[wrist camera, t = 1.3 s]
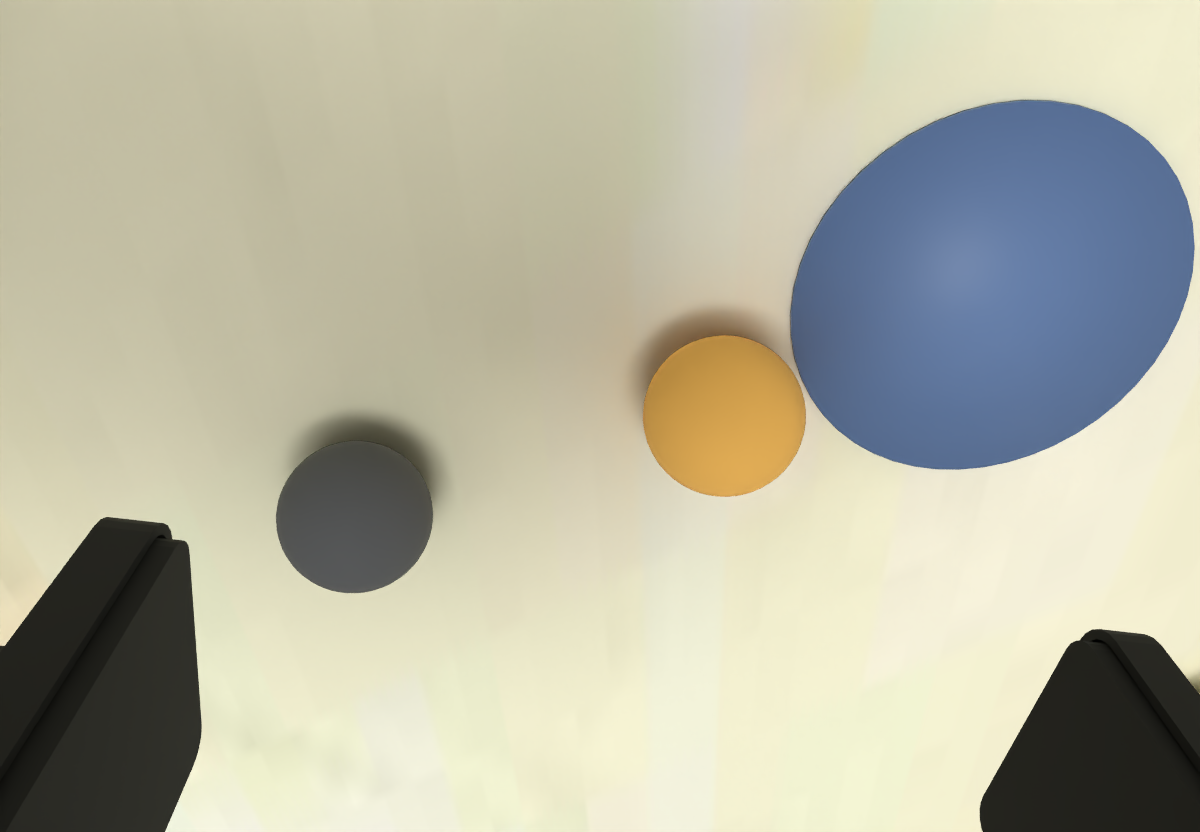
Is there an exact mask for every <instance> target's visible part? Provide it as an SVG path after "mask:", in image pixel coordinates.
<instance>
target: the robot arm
mask: <svg viewBox="0 0 1200 832" xmlns="http://www.w3.org/2000/svg"><path fill="white" fill-rule="evenodd" d="M201 725H202V724H201V710H200V696H199V682H198V668H197V653H196V639H195V625H194V611H193V597H192V582H191V568H190V554H189V547H188V544H187V543H186V542H185V541H182V540H173V539H172V535H171V531H170V529H169V527H168V525H166V524H164V523H155V522H146V521H137V520H129V519H120V518H111V517H106V518H103V519H101V520H100V521H99V522H98V523H97V524H96V525H95V526H94V527H93V528H92V530H91V531H90V532H89V534H88V535H87V536H86V538H85V539H84V540H83V542H82V543H81V544H80V546H79V547H78V549H77V550H76V551H75V553H74V554H73V555H72V557H71V558H70V559H69V561H68V562H67V563H66V565H65V566H64V567H63V569H62V570H61V571H60V573H59V574H58V575H57V577H56V578H55V579H54V581H53V582H52V583H51V585H50V586H49V587H48V589H47V590H46V591H45V593H44V594H43V595H42V597H41V598H40V599H39V601H38V602H37V603H36V605H35V606H34V608H33V609H32V610H31V612H30V613H29V614H28V616H27V617H26V618H25V620H24V621H23V622H22V624H21V625H20V626H19V628H18V629H17V630H16V632H15V633H14V634H13V636H12V637H11V638H10V640H9V641H8V642H7V644H6V645H5V646H0V832H165V830H166V828H167V826H168V823H169V821H170V819H171V816H172V814H173V812H174V809H175V807H176V805H177V802H178V800H179V798H180V795H181V793H182V791H183V788H184V786H185V784H186V781H187V779H188V777H189V774H190V772H191V770H192V767H193V765H194V762H195V760H196V757H197V753H198V749H199V745H200V739H201ZM980 822H981V828H982V831H983V832H1200V695H1199V693H1198V692H1197V691H1196V690H1195V688H1194V687H1193V686H1192V684H1191V683H1190V682H1189V681H1188V679H1187V678H1186V677H1185V675H1184V674H1183V673H1182V672H1181V670H1180V669H1179V668H1178V666H1177V665H1176V664H1175V662H1174V661H1173V660H1172V659H1171V657H1170V656H1169V655H1168V653H1167V652H1166V651H1165V650H1164V648H1163V647H1162V646H1161V645H1160V644H1159V643H1158V642H1157V641H1156V640H1155V639H1154V638H1152V637H1150V636H1148V635H1145V634H1137V633H1128V632H1119V631H1111V630H1102V629H1096V630H1091V631H1089V632H1087V633H1086V634H1085V635H1084V636H1083V637H1082V638H1081V640H1080V641H1075V642H1073V643H1071V644H1070V645H1069V646H1068V648H1067V649H1066V651H1065V652H1064V654H1063V656H1062V658H1061V659H1060V661H1059V663H1058V665H1057V666H1056V668H1055V670H1054V672H1053V674H1052V675H1051V677H1050V679H1049V681H1048V682H1047V684H1046V686H1045V688H1044V689H1043V691H1042V693H1041V695H1040V697H1039V698H1038V700H1037V702H1036V704H1035V705H1034V707H1033V709H1032V711H1031V712H1030V714H1029V716H1028V718H1027V720H1026V721H1025V723H1024V725H1023V727H1022V728H1021V730H1020V732H1019V734H1018V735H1017V737H1016V739H1015V741H1014V743H1013V744H1012V746H1011V748H1010V750H1009V751H1008V753H1007V755H1006V757H1005V759H1004V760H1003V762H1002V764H1001V766H1000V767H999V769H998V771H997V773H996V774H995V776H994V778H993V780H992V782H991V783H990V785H989V787H988V789H987V790H986V792H985V794H984V796H983V798H982V801H981V805H980Z"/></svg>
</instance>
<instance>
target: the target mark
mask: <svg viewBox="0 0 1200 832" xmlns="http://www.w3.org/2000/svg"><path fill="white" fill-rule="evenodd" d="M1193 260H1194V234H1193V222H1192V218H1191V214H1190V210H1189V206H1188V201H1187V199H1186V196H1185V194H1184V192H1183V189H1182V187H1181V185H1180V182H1179V180H1178V178H1177V176H1176V175H1175V173H1174V172H1173V170H1172V169H1171V167H1170V166H1169V164H1168V163H1167V161H1166V159H1165V158H1164V157H1163V156H1162V155H1161V154H1160V153H1159V152H1158V151H1157V150H1156V149H1155V148H1154V146H1153V145H1152V144H1151V143H1150V142H1149V141H1148V140H1146V139H1145V138H1144V137H1142V136H1141V135H1140V134H1138V133H1137V132H1136V131H1134V130H1133V129H1132V128H1130V127H1129V126H1127V125H1125V124H1123V123H1121V122H1119V121H1117V120H1115V119H1114V118H1112V117H1110V116H1108V115H1106V114H1103V113H1101V112H1098V111H1094V110H1091V109H1088V108H1085V107H1082V106H1079V105H1074V104H1068V103H1062V102H1056V101H1041V100H1019V101H1010V102H1002V103H993V104H989V105H985V106H981V107H977V108H973V109H968V110H964V111H962V112H959V113H956V114H954V115H951V116H948V117H946V118H943V119H940V120H938V121H935V122H933V123H931V124H929V125H928V126H926V127H924V128H922V129H920V130H918V131H916V132H914V133H912V134H910V135H908V136H907V137H905V138H904V139H902V140H901V141H899V142H898V143H896V144H895V145H893V146H892V147H890V148H889V149H887V150H886V151H884V152H883V153H882V154H881V155H880V156H878V157H877V158H876V159H875V160H874V161H873V162H871V163H870V164H869V165H868V166H867V167H865V168H864V169H863V170H862V171H861V172H860V173H859V174H858V175H857V176H856V177H855V178H854V179H853V180H852V181H851V182H850V184H849V185H848V186H847V187H846V188H845V189H844V190H843V191H842V192H841V193H840V195H839V196H838V197H837V199H836V200H835V201H834V203H833V204H832V205H831V207H830V208H829V209H828V211H827V212H826V214H825V215H824V216H823V218H822V220H821V222H820V223H819V225H818V227H817V229H816V230H815V232H814V234H813V236H812V237H811V239H810V242H809V244H808V246H807V249H806V251H805V254H804V256H803V258H802V261H801V263H800V267H799V270H798V274H797V278H796V281H795V285H794V290H793V297H792V305H791V339H792V345H793V351H794V357H795V360H796V363H797V366H798V370H799V373H800V376H801V378H802V381H803V383H804V385H805V387H806V389H807V391H808V393H809V395H810V397H811V399H812V400H813V401H814V403H815V404H816V406H817V407H818V408H819V410H820V411H821V413H822V414H823V415H824V416H825V417H826V418H827V419H828V421H829V422H830V423H831V424H832V425H833V426H834V427H835V428H836V429H837V430H838V431H840V432H841V433H842V434H844V435H845V436H846V437H848V438H849V439H850V440H851V441H853V442H854V443H856V444H858V445H859V446H861V447H863V448H865V449H866V450H868V451H870V452H872V453H874V454H877V455H879V456H882V457H884V458H887V459H889V460H892V461H895V462H899V463H903V464H907V465H911V466H916V467H924V468H931V469H970V468H980V467H987V466H992V465H997V464H1002V463H1007V462H1010V461H1013V460H1017V459H1020V458H1023V457H1026V456H1030V455H1032V454H1035V453H1037V452H1039V451H1042V450H1044V449H1047V448H1049V447H1051V446H1054V445H1056V444H1058V443H1059V442H1061V441H1063V440H1065V439H1067V438H1069V437H1071V436H1073V435H1074V434H1076V433H1078V432H1079V431H1081V430H1082V429H1084V428H1085V427H1087V426H1088V425H1090V424H1091V423H1093V422H1094V421H1096V420H1097V419H1099V418H1100V417H1101V416H1102V415H1104V414H1105V413H1106V412H1107V411H1109V410H1110V409H1111V408H1112V407H1113V406H1115V405H1116V404H1117V403H1118V402H1119V401H1120V400H1121V399H1122V398H1123V397H1124V396H1125V395H1126V394H1127V393H1128V392H1129V391H1130V390H1131V389H1132V388H1133V387H1134V386H1135V385H1136V384H1137V383H1138V382H1139V381H1140V380H1141V378H1142V377H1143V376H1144V375H1145V373H1146V372H1147V371H1148V370H1149V369H1150V367H1151V366H1152V365H1153V364H1154V362H1155V361H1156V359H1157V357H1158V356H1159V354H1160V353H1161V351H1162V350H1163V348H1164V347H1165V345H1166V344H1167V342H1168V340H1169V338H1170V336H1171V334H1172V332H1173V330H1174V328H1175V326H1176V324H1177V322H1178V320H1179V318H1180V315H1181V312H1182V309H1183V307H1184V304H1185V301H1186V298H1187V295H1188V291H1189V286H1190V281H1191V277H1192V272H1193Z"/></svg>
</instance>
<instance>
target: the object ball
mask: <svg viewBox="0 0 1200 832" xmlns="http://www.w3.org/2000/svg"><path fill="white" fill-rule="evenodd" d="M805 423H806V409H805V402H804V397H803V394H802V391H801V388H800V385H799V383H798V381H797V379H796V377H795V375H794V373H793V372H792V371H791V369H790V368H789V366H788V365H787V364H786V363H785V362H784V361H783V360H782V359H781V358H780V357H779V356H778V355H777V354H776V353H774V352H773V351H772V350H771V349H769V348H767V347H765V346H764V345H762V344H760V343H758V342H755V341H753V340H750V339H747V338H743V337H738V336H727V335H720V336H711V337H707V338H702V339H699V340H696V341H693V342H691V343H689V344H687V345H685V346H683V347H682V348H680V349H678V350H677V351H675V352H674V353H673V354H672V355H671V356H669V357H668V358H667V359H666V360H665V362H664V363H663V364H662V365H661V366H660V368H659V369H658V370H657V372H656V373H655V375H654V376H653V378H652V380H651V382H650V385H649V387H648V390H647V393H646V396H645V401H644V409H643V424H644V431H645V435H646V439H647V443H648V445H649V447H650V450H651V452H652V454H653V455H654V457H655V459H656V460H657V462H658V463H659V465H660V466H661V467H662V468H663V469H664V470H665V472H666V473H667V474H668V475H670V476H671V477H672V478H673V479H674V480H676V481H677V482H679V483H680V484H682V485H683V486H685V487H687V488H689V489H691V490H693V491H696V492H699V493H702V494H706V495H712V496H722V497H729V496H738V495H743V494H747V493H750V492H753V491H755V490H758V489H760V488H762V487H764V486H765V485H767V484H769V483H770V482H772V481H773V480H774V479H776V478H777V477H778V476H779V475H780V474H781V473H782V472H784V470H785V469H786V468H787V467H788V466H789V464H790V463H791V461H792V460H793V458H794V457H795V455H796V454H797V451H798V449H799V447H800V445H801V441H802V438H803V435H804V430H805Z"/></svg>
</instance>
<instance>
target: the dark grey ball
mask: <svg viewBox="0 0 1200 832" xmlns="http://www.w3.org/2000/svg"><path fill="white" fill-rule="evenodd" d="M432 521H433V510H432V501H431V497H430V493H429V490H428V488H427V485H426V483H425V481H424V479H423V477H422V476H421V474H420V473H419V471H418V470H417V469H416V468H415V466H414V465H413V464H412V463H411V462H410V461H409V460H408V459H406V458H405V457H404V456H402V455H401V454H399V453H398V452H396V451H394V450H392V449H390V448H388V447H386V446H383V445H380V444H377V443H372V442H366V441H346V442H341V443H336V444H333V445H330V446H327V447H324V448H322V449H320V450H318V451H317V452H315V453H313V454H312V455H310V456H309V457H307V458H306V459H305V460H304V461H303V462H302V463H301V464H300V465H299V466H298V467H296V468H295V470H294V471H293V472H292V474H291V475H290V476H289V478H288V479H287V481H286V483H285V485H284V487H283V489H282V492H281V494H280V497H279V501H278V506H277V513H276V524H277V533H278V537H279V541H280V544H281V546H282V549H283V551H284V553H285V555H286V557H287V558H288V560H289V561H290V562H291V564H292V565H293V566H294V568H295V569H296V570H297V571H298V572H299V573H300V574H302V575H303V576H304V577H305V578H307V579H308V580H310V581H311V582H313V583H315V584H317V585H318V586H321V587H323V588H326V589H329V590H332V591H337V592H343V593H362V592H368V591H373V590H376V589H379V588H382V587H384V586H387V585H389V584H391V583H392V582H394V581H396V580H397V579H399V578H400V577H402V576H403V575H404V574H405V573H406V572H408V571H409V570H410V569H411V568H412V566H413V565H414V564H415V563H416V562H417V561H418V559H419V557H420V556H421V554H422V553H423V551H424V549H425V547H426V545H427V542H428V540H429V537H430V533H431V529H432Z"/></svg>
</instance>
